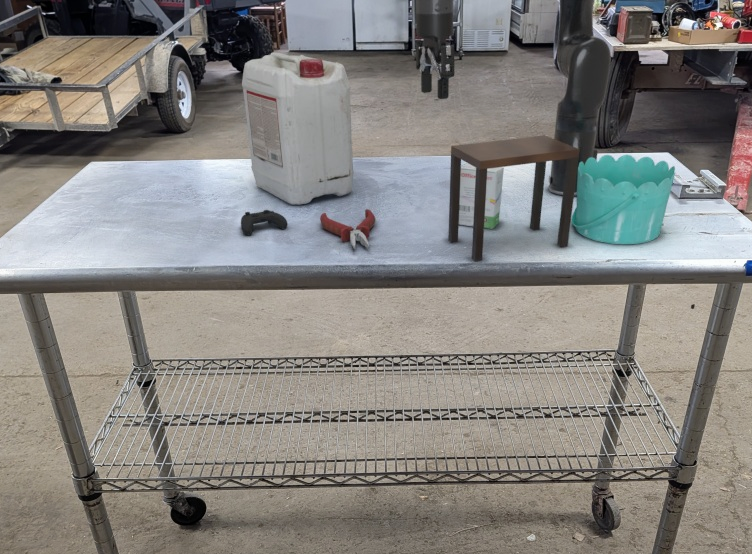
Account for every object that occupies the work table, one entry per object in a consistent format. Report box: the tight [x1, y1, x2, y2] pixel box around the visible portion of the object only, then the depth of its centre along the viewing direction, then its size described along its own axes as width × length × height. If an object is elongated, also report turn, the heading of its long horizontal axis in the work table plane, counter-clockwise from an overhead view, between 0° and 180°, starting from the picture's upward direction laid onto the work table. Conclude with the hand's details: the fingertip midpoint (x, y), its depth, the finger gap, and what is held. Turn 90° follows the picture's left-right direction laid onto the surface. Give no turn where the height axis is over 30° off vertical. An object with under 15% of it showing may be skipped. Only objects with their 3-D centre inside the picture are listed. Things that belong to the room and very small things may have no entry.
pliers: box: [319, 208, 376, 251], centre depth 145 cm, size 12×20×3 cm, turn 12°
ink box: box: [459, 162, 505, 230], centre depth 148 cm, size 9×5×12 cm, turn 65°
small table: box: [447, 135, 579, 262], centre depth 136 cm, size 20×12×18 cm, turn 110°
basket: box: [571, 154, 676, 246], centre depth 143 cm, size 19×18×13 cm
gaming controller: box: [240, 209, 288, 236], centre depth 151 cm, size 10×5×6 cm
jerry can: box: [241, 52, 355, 206], centre depth 166 cm, size 24×19×30 cm
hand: (434, 95), depth 154 cm, fingers open, 8 cm apart
